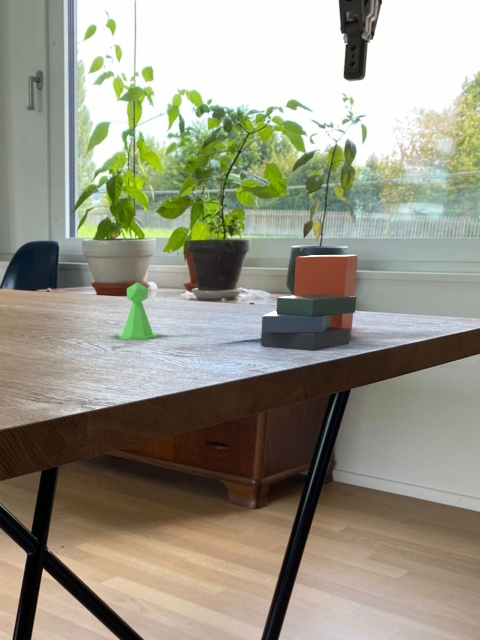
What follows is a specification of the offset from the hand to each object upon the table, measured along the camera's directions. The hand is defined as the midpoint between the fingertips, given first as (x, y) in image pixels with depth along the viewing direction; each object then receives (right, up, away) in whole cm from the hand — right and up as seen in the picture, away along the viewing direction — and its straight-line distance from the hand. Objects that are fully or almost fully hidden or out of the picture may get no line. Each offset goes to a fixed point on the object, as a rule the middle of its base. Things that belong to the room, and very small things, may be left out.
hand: (354, 79), depth 97 cm
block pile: (-10, -35, -17) cm, 40 cm away
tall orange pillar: (-7, -33, -11) cm, 35 cm away
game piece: (-26, -33, -10) cm, 44 cm away
